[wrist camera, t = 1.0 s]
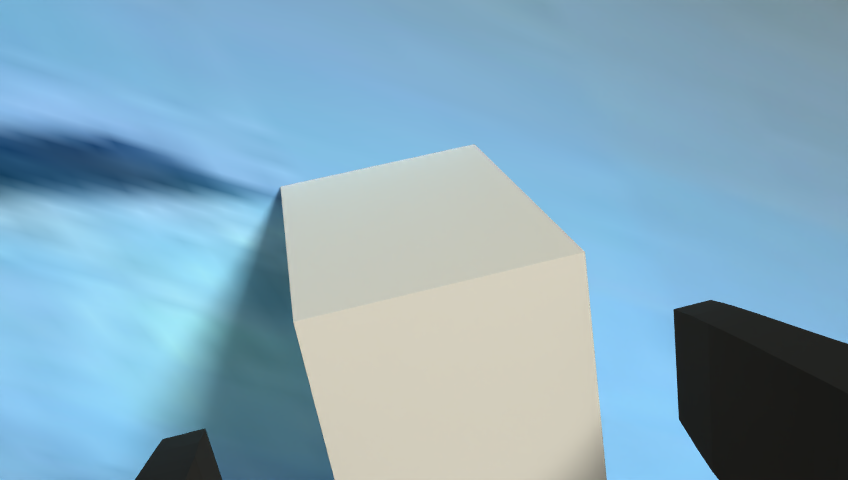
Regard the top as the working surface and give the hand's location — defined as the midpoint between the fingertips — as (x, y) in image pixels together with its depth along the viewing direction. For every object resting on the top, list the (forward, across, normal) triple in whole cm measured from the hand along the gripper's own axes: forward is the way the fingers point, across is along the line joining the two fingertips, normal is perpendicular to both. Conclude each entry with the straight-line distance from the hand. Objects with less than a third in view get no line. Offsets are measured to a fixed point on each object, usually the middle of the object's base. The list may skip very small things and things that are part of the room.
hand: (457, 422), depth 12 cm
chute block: (+6, 0, 0) cm, 6 cm away
